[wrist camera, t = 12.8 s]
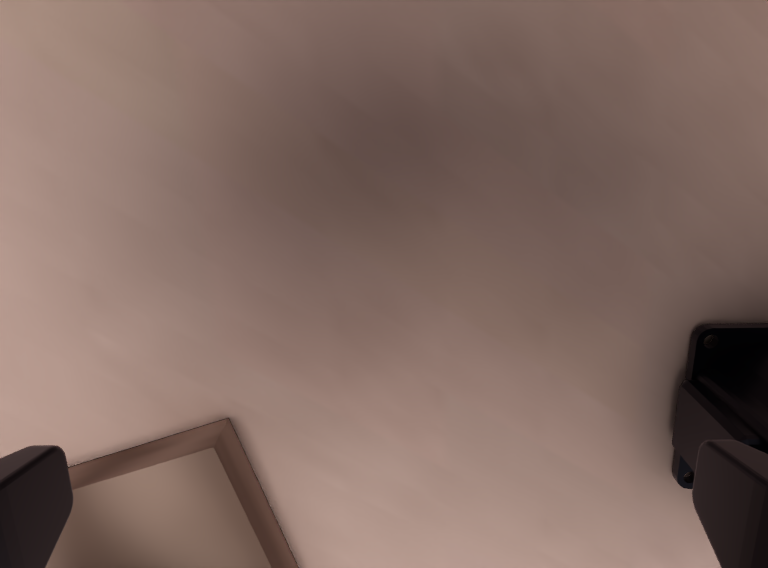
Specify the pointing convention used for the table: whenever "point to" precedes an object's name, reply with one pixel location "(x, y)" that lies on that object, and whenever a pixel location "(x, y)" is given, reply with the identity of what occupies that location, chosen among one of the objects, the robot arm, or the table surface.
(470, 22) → the table surface
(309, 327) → the table surface
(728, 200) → the table surface
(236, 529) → the walnut plinth
